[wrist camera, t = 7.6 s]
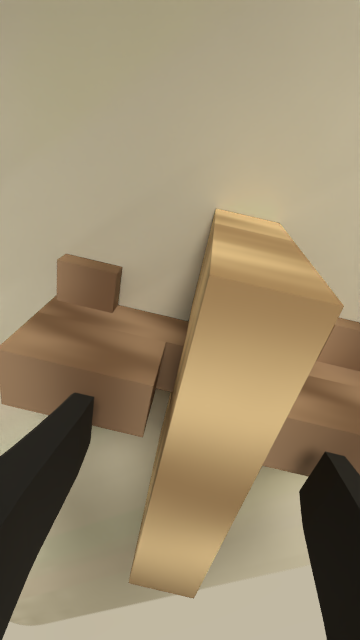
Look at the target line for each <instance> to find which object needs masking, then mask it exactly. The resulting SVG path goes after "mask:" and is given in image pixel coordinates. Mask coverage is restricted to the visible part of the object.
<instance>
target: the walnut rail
mask: <svg viewBox="0 0 360 640" xmlns="http://www.w3.org/2000/svg"><path fill="white" fill-rule="evenodd" d="M121 273H122V267H120V266H116V265H111V264H107V263H103V262H99V261H94V260H90V259H86V258H81V257H77V256H73V255H69V254H65V255H64V256H62V257H61V258H59V259H58V260H57V295H56V296H55V297H54V298H53V299H52V300H51V301H50V302H48V303H47V304H46V305H45V306H44V307H43V308H42V309H41V310H39V311H38V312H37V313H36V314H35V315H34V316H33V317H32V318H30V319H29V320H28V321H27V322H26V323H25V324H24V325H23V326H21V327H20V328H19V329H18V330H17V331H16V332H15V333H14V334H12V335H11V336H10V337H9V338H8V339H7V340H6V341H5V342H3V343H2V344H1V345H0V391H1V401H2V404H4V405H8V406H12V407H17V408H21V409H25V410H29V411H34V412H38V413H42V414H46V415H50V414H51V413H52V412H53V411H54V410H55V409H56V408H58V407H59V406H60V405H61V404H62V403H63V402H64V401H65V400H66V399H67V398H68V397H69V396H70V395H71V394H73V393H75V392H76V393H80V394H84V395H88V396H93V397H94V407H93V418H92V425H93V426H97V427H101V428H106V429H110V430H114V431H118V432H123V433H127V434H131V435H135V436H140V437H143V434H144V430H145V427H146V423H147V419H148V416H149V412H150V408H151V405H152V401H153V397H154V394H155V390H156V389H161V390H165V391H169V392H172V391H173V387H174V383H175V379H176V375H177V371H178V367H179V363H180V359H181V355H182V351H183V347H184V343H185V339H186V335H187V329H188V324H189V322H188V321H184V320H180V319H175V318H171V317H167V316H163V315H158V314H154V313H150V312H145V311H141V310H137V309H133V308H128V307H124V306H120V305H118V299H119V291H120V282H121ZM325 451H326V452H330V453H334V454H339V455H343V456H345V457H346V458H347V459H348V461H349V462H350V463H351V464H352V466H353V467H354V468H355V469H356V471H357V472H358V473H359V475H360V323H359V322H355V321H350V320H346V319H342V318H338V319H337V321H336V323H335V325H334V327H333V329H332V331H331V332H330V334H329V336H328V338H327V340H326V342H325V344H324V346H323V348H322V350H321V352H320V354H319V356H318V358H317V360H316V362H315V364H314V366H313V368H312V369H311V371H310V373H309V375H308V377H307V379H306V381H305V383H304V385H303V387H302V389H301V391H300V393H299V395H298V397H297V399H296V401H295V403H294V404H293V406H292V408H291V410H290V412H289V414H288V416H287V418H286V420H285V422H284V424H283V426H282V428H281V430H280V432H279V434H278V436H277V438H276V439H275V441H274V443H273V445H272V447H271V449H270V451H269V453H268V455H267V457H266V459H265V461H264V463H263V465H262V466H267V467H271V468H275V469H279V470H283V471H288V472H292V473H296V474H300V475H305V476H310V474H311V472H312V471H313V469H314V468H315V466H316V465H317V463H318V462H319V460H320V459H321V457H322V455H323V454H324V452H325Z"/></svg>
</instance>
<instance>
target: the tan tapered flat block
mask: <svg viewBox="0 0 360 640" xmlns="http://www.w3.org/2000/svg"><path fill="white" fill-rule="evenodd" d="M343 307H344V306H343V304H342V303H341V302H340V300H339V299H338V298H337V297H336V295H335V294H334V293H333V291H332V290H331V289H330V288H329V286H328V285H327V284H326V282H325V281H324V280H323V279H322V277H321V276H320V275H319V273H318V272H317V271H316V270H315V268H314V267H313V266H312V264H311V263H310V262H309V260H308V259H307V258H306V257H305V255H304V254H303V253H302V251H301V250H300V249H299V248H298V246H297V245H296V244H295V242H294V241H293V240H292V239H291V237H290V236H289V235H288V233H287V232H286V231H285V230H284V228H283V227H282V226H281V224H280V223H276V222H272V221H268V220H263V219H259V218H255V217H250V216H246V215H242V214H237V213H233V212H229V211H225V210H220V209H216V210H215V214H214V218H213V223H212V227H211V231H210V235H209V239H208V243H207V247H206V251H205V255H204V259H203V263H202V267H201V271H200V275H199V279H198V283H197V287H196V291H195V296H194V300H193V304H192V308H191V314H190V319H189V324H188V329H187V335H186V339H185V343H184V347H183V351H182V355H181V359H180V363H179V367H178V371H177V375H176V379H175V383H174V387H173V391H172V392H171V393H170V397H169V401H168V405H167V409H166V413H165V417H164V421H163V425H162V429H161V434H160V438H159V443H158V448H157V452H156V457H155V462H154V466H153V471H152V476H151V480H150V485H149V490H148V494H147V499H146V504H145V508H144V513H143V518H142V522H141V527H140V532H139V536H138V541H137V546H136V551H135V555H134V560H133V565H132V569H131V574H130V579H129V583H131V584H135V585H139V586H143V587H147V588H152V589H156V590H160V591H164V592H169V593H173V594H177V595H181V596H185V597H190V598H194V597H195V595H196V593H197V591H198V589H199V587H200V585H201V583H202V581H203V580H204V578H205V576H206V574H207V572H208V570H209V568H210V566H211V564H212V562H213V560H214V558H215V556H216V554H217V552H218V550H219V548H220V546H221V545H222V543H223V541H224V539H225V537H226V535H227V533H228V531H229V529H230V527H231V525H232V523H233V521H234V519H235V517H236V515H237V513H238V511H239V509H240V508H241V506H242V504H243V502H244V500H245V498H246V496H247V494H248V492H249V490H250V488H251V486H252V484H253V482H254V480H255V478H256V476H257V474H258V473H259V471H260V469H261V467H262V465H263V463H264V461H265V459H266V457H267V455H268V453H269V451H270V449H271V447H272V445H273V443H274V441H275V439H276V438H277V436H278V434H279V432H280V430H281V428H282V426H283V424H284V422H285V420H286V418H287V416H288V414H289V412H290V410H291V408H292V406H293V404H294V403H295V401H296V399H297V397H298V395H299V393H300V391H301V389H302V387H303V385H304V383H305V381H306V379H307V377H308V375H309V373H310V371H311V369H312V368H313V366H314V364H315V362H316V360H317V358H318V356H319V354H320V352H321V350H322V348H323V346H324V344H325V342H326V340H327V338H328V336H329V334H330V332H331V331H332V329H333V327H334V325H335V323H336V321H337V319H338V317H339V315H340V313H341V311H342V309H343Z"/></svg>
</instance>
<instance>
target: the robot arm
mask: <svg viewBox="0 0 360 640" xmlns="http://www.w3.org/2000/svg"><path fill="white" fill-rule="evenodd" d="M93 407H94V397H93V396H88V395H84V394H80V393H76V392H75V393H73V394H71V395H70V396H69V397H68V398H67V399H66V400H65V401H64V402H63V403H62V404H61V405H60V406H59V407H58V408H56V409H55V410H54V411H53V412H52V413H51V414H50V415H49V416H48V417H47V418H46V419H44V420H43V421H42V422H41V423H40V424H39V425H38V426H36V427H35V428H34V429H33V430H32V431H31V432H29V433H28V434H27V435H26V436H25V437H23V438H22V439H21V440H20V441H19V442H18V443H16V444H15V445H14V446H13V447H11V448H10V449H9V450H8V451H6V452H5V453H4V454H3V455H1V456H0V640H2V638H3V635H4V633H5V630H6V628H7V626H8V623H9V621H10V618H11V616H12V613H13V611H14V608H15V606H16V604H17V601H18V599H19V596H20V594H21V592H22V589H23V587H24V584H25V582H26V579H27V577H28V575H29V572H30V570H31V568H32V566H33V564H34V561H35V559H36V557H37V555H38V553H39V551H40V549H41V547H42V545H43V543H44V541H45V539H46V537H47V535H48V533H49V531H50V529H51V527H52V525H53V523H54V521H55V519H56V517H57V515H58V513H59V511H60V509H61V507H62V505H63V503H64V501H65V499H66V497H67V495H68V493H69V491H70V489H71V487H72V485H73V483H74V481H75V479H76V477H77V475H78V473H79V470H80V468H81V465H82V463H83V460H84V457H85V455H86V452H87V449H88V447H89V444H90V440H91V429H92V418H93ZM299 493H300V505H301V515H302V523H303V530H304V535H305V540H306V544H307V549H308V554H309V558H310V563H311V567H312V572H313V576H314V580H315V585H316V590H317V593H318V599H319V603H320V608H321V612H322V616H323V621H324V626H325V631H326V636H327V640H360V475H359V473H358V472H357V471H356V469H355V468H354V467H353V466H352V464H351V463H350V462H349V461H348V459H347V458H346V457H345V456H343V455H339V454H334V453H330V452H326V451H325V452H324V454H323V455H322V457H321V459H320V460H319V462H318V463H317V465H316V466H315V468H314V469H313V471H312V472H311V474H310V476H309V477H308V479H307V480H306V482H305V483H304V485H303V486H302V488H301V489H300V491H299Z"/></svg>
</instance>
